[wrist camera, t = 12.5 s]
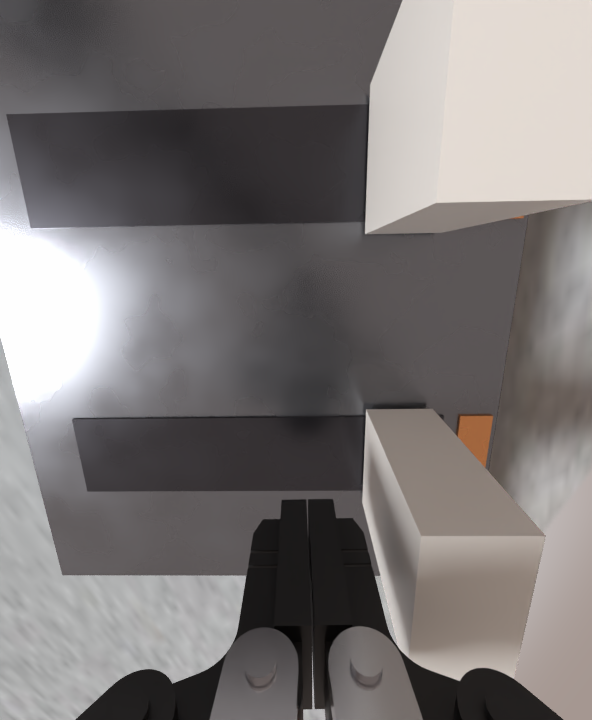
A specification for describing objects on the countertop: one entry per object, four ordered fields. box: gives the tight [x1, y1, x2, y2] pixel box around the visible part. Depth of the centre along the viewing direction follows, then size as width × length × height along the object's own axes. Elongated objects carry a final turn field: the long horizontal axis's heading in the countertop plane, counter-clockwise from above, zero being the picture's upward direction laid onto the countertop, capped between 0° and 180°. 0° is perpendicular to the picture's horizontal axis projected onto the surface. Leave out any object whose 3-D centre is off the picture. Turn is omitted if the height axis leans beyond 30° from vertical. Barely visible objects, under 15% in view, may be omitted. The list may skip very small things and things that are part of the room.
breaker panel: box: [0, 0, 528, 576], centre depth 13 cm, size 18×22×3 cm
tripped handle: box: [362, 409, 546, 681], centre depth 10 cm, size 2×4×6 cm, turn 1°
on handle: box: [365, 0, 592, 234], centre depth 7 cm, size 2×4×6 cm, turn 1°
